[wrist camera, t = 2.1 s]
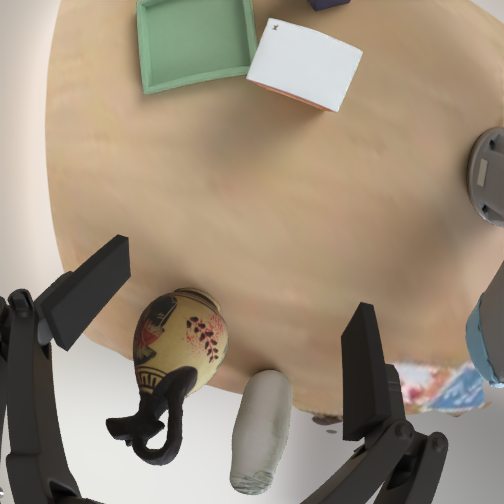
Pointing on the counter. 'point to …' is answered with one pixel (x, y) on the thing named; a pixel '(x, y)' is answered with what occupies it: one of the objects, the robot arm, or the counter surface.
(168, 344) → the ceramic jug
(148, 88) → the tray
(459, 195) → the counter surface
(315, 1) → the navy block
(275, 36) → the small box
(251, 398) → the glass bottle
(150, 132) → the counter surface
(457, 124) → the counter surface
